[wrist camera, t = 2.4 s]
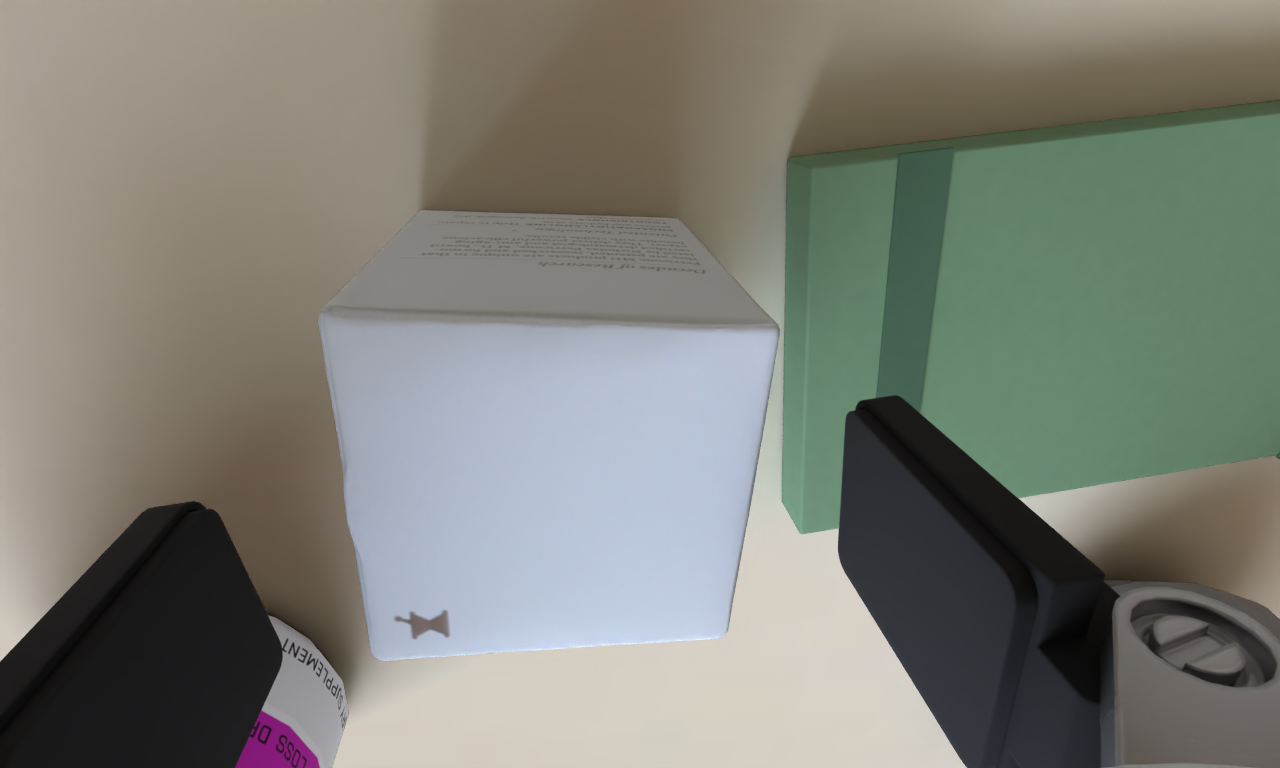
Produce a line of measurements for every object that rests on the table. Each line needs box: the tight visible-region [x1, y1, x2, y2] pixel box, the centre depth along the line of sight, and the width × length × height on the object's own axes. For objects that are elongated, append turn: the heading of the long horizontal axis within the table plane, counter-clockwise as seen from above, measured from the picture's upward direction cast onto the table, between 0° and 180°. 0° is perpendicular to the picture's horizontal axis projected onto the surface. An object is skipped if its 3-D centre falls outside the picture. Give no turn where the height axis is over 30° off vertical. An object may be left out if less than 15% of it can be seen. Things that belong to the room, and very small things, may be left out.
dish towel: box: [782, 100, 1280, 534], centre depth 17 cm, size 10×18×2 cm, turn 95°
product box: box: [318, 210, 780, 661], centre depth 12 cm, size 6×6×7 cm
